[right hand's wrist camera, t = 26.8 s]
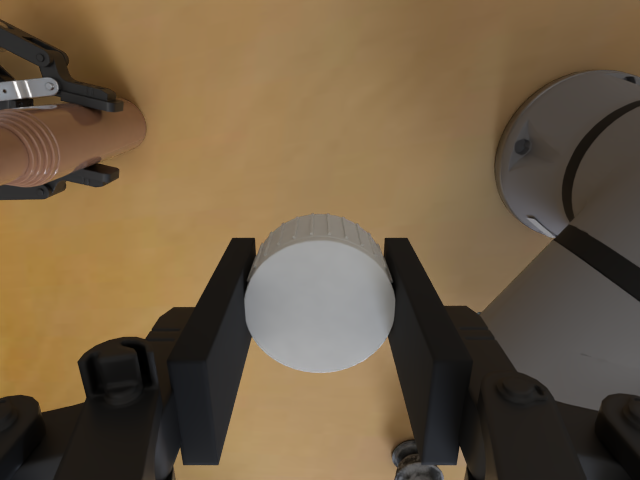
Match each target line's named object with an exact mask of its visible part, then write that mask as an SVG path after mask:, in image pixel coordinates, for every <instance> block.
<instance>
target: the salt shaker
mask: <svg viewBox="0 0 640 480" xmlns="http://www.w3.org/2000/svg"><path fill="white" fill-rule="evenodd" d="M392 460H393V462H394V464H395V466H396V467H397V471H396V476H395V479H394V480H444V476H443V474H442V471H441V470H440V469H439V468H438V467H437V465H421V462H420V458H419V454H418V450H417V446H416V442H415V440H411V441H407V442H404V443H402V444H400V445H399V446H397V447H396V448H395V450H394V451H393V455H392Z"/></svg>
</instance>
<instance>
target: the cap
mask: <svg viewBox="0 0 640 480" xmlns="http://www.w3.org/2000/svg"><path fill="white" fill-rule="evenodd" d="M247 282H248V285H247V288H246V292H245V296H244V303H245V316H246V324H247V327H248V330H249V331H250V333H251V335H252V337H253V339H254V340H255V342H256V343H257V344H258V346H259V347H260V348H261V349H262V350H263V351H264V352H265V353H266V354H268V355H269V356H270V357H271V358H273V359H274V360H276V361H277V362H279V363H281V364H283V365H285V366H288V367H291V368H293V369H297V370H301V371H306V372H315V373H325V372H334V371H339V370H343V369H346V368H349V367H352V366H354V365H356V364H358V363H360V362H362V361H364V360H365V359H367V358H368V357H369V356H371V355H372V354H373V353H374V352H375V351H376V350H377V349H378V348H379V347H380V346H381V345H382V344H383V342H384V341H385V340H386V338H387V336H388V335H389V333H390V330H391V328H392V326H393V322H394V313H395V294H394V290H393V287H392V284H391V283H393V280H392V277H391V274H390V271H389V269H388V266H387V263H386V260H385V257H384V256H383V255H382V252H381V249H380V246H379V244H376V243H375V241H374V240H373V238H372V237H371V234H370V233H369V232H368V233H367V232H366V231H365V230H364V229H362V228H361V227H360V226H359V224H357V223H356V224H355V223H353V222H352V221H349V220H347V219H345V217H338V216H334V215H330V214H314V213H313V214H311V215H306V216H301V217H296V218H295V219H292V220H290V221H288V222H286V223H282V225H281V226H280V227H278V228H277V229H276V230H275V231H274V232H271V233H270V235H269V237H268V238H267V239H266V240H265V242H264V243H262V244H261V246H260V249H259V251H258V254H257V256H255V259H254V262H253V265H252V267H251V270H250V273H249V276H248V278H247Z"/></svg>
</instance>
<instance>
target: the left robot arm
mask: <svg viewBox="0 0 640 480" xmlns="http://www.w3.org/2000/svg"><path fill="white" fill-rule="evenodd" d="M7 50H8V51H10V52H12V53H14V54H16V55H18V56H20V57H22V58H24V59H26V60H28V61H30V62H32V63H34V64H36V65H38V66H39V68H40V71H41V74H42V77H43V78H37V79H29V80H17V81H16V80H15V79H14V78H13V77H12V76H11V75H10V74H9V73H8V72H7V71H6V70H5V69H4V68H3V67H2V66H1V65H0V110H3V109H10V108H20V107H29V106H33V99H32V98H40V97H49V96H58V97H61V101H64V102H69V103H73V104H77V105H81V106H86V107H90V108H94V109H98V110H102V111H107V112H120V111H123V106H124V101H121V100H117V99H116V93H115V92H113V91H112V90H110V89H107V88H103V87H99V86H95V85H91V84H87V83H83V82H78V81H76V80H74V79H73V78H72V77H71V76H70V74H69V72H68V69H67V65H68V63H69V59H68V56H67V55H66V53H64V52H63V51H61V50H59V49H57V48H55V47H53V46H51V45H49V44H47V43H45V42H44V41H42V40H40V39H38V38H36V37H34V36H32V35H30V34H28V33H26V32H24V31H22V30H20V29H18V28H16V27H14V26H13V25H11V24H9V23H7V22H5V21H3V20H1V19H0V52H5V51H7ZM118 178H119V169H118V168H115V167H111V166H106V165H102V164H97V163H96V164H94V165H91V166H89V167H86V168H84V169H81V170H79V171H76V172H73V173H71V174H68V175H66V176H63V177H61V178H58V179H56V180H53V181H50V182H48V183H45V184H43V185H40V186H33V187H19V186H11V185H1V186H0V200H26V199H46V198H48V197H50V196H53V195H55V194H57V193H59V192H62V191H64V190H65V189H66V183H65V182H66V181H70V182H75V183H79V184H84V185H89V186H93V187H101V186H104V185H106V184H108V183H110V182H112V181H114V180H116V179H118Z"/></svg>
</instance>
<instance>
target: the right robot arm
mask: <svg viewBox="0 0 640 480" xmlns="http://www.w3.org/2000/svg"><path fill="white" fill-rule="evenodd" d="M495 179H496V185H497V189H498V192H499V195H500V197H501V199H502V201H503V203H504V205H505V206H506V208H507V209H508V210H509V212H510V213H511V214H512V215H513V216H514V217H515V218H517V219H518V220H519V221H520V222H522V223H523V224H525V225H526V226H528V227H529V228H531V229H532V230H534V231H536V232H539V233H541V234H544V235H546V236H548V237H553V238H555V239H553V240H552V241H551V242H550V243H549V244H548V246H547V247H546V248H545V249H544V250H543V251H542V252H541V253H540V254H539V255H538V256H537V257H536V258H535V259H534V260H533V261H532V262H531V263H530V264H529V265H528V266H527V267H526V268H525V269H524V270H523V271H522V272H521V273H520V274H519V275H518V276H517V277H516V278H515V279H514V280H513V281H512V282H511V283H510V284H509V285H508V286H507V287H506V288H505V289H504V290H503V291H502V292H501V293H500V294H499V295H498V296H497V297H496V298H495V299H494V300H493V301H492V302H491V303H490V304H489V306H488V307H487V308H486V309H485V310H484V311H483V312H478V313H475V312H474V311H473V310H471V309H470V308H468V307H467V306H444V305H443V304H442V302H441V300H440V298H439V296H438V294H437V292H436V290H435V289H434V287H433V285H432V283H431V281H430V279H429V277H428V276H427V274H426V272H425V270H424V268H423V266H422V264H421V263H420V261H419V259H418V257H417V255H416V253H415V251H414V250H413V248H412V246H411V244H410V242H409V240H408V238H385V244H384V257H385V260H386V263H387V266H388V269H389V271H390V274H391V277H392V280H393V283H391V284H392V287H393V290H394V294H395V313H394V322H393V326H392V328H391V330H390V333H389V335H388V339H389V342H390V346H391V350H392V354H393V358H394V362H395V365H396V369H397V373H398V377H399V381H400V385H401V389H402V392H403V396H404V400H405V404H406V408H407V412H408V415H409V419H410V423H411V427H412V431H413V435H414V439H415V442H416V446H417V450H418V454H419V458H420V462H421V465H457V459H458V452H459V446H460V447H461V450H462V453H463V455H464V458H465V461H466V463H467V467H466V473H465V479H464V480H640V77H638V76H635V75H632V74H628V73H624V72H619V71H612V70H593V71H583V72H577V73H573V74H570V75H567V76H564V77H561V78H559V79H557V80H555V81H553V82H551V83H549V84H547V85H546V86H544V87H543V88H541V89H540V90H538V91H537V92H536V93H534V94H533V95H532V96H531V97H530V98H529V99H527V100H526V101H525V102H524V103H523V104H522V106H521V107H520V108H519V109H518V110H517V111H516V113H515V114H514V115H513V117H512V118H511V120H510V121H509V123H508V125H507V127H506V128H505V130H504V132H503V135H502V137H501V140H500V143H499V146H498V149H497V154H496V160H495ZM255 256H256V249H255V238H232V240H231V242H230V243H229V245H228V247H227V249H226V251H225V253H224V255H223V256H222V258H221V260H220V262H219V264H218V266H217V268H216V269H215V271H214V273H213V275H212V277H211V279H210V281H209V283H208V284H207V286H206V288H205V290H204V292H203V294H202V296H201V297H200V299H199V301H198V303H197V305H196V307H173V308H172V309H171V310H169V311H168V312H166V313H165V314H164V315H162V316H161V317H159V319H158V320H157V322H156V323H155V325H154V326H153V328H152V331H150V332H149V334H148V336H147V337H146V339H142V338H138V337H121V338H117V339H112V340H108V341H106V342H103V343H101V344H99V345H96V346H94V347H93V348H91V349H90V350H89V351H87V352H86V353H84V354H83V356H82V357H81V358H80V359H79V361H78V366H79V370H80V374H81V378H82V382H83V386H84V389H85V393H86V397H87V398H86V400H85V402H84V403H80V404H77V405H73V406H69V407H64V408H60V409H56V410H51V411H47V412H42V413H41V410H40V406H39V403H38V402H37V401H36V400H35V399H34V398H33V397H30V396H24V395H16V396H7V397H3V398H0V480H175V473H174V467H173V465H174V462H175V459H176V457H177V454H178V451H179V449H180V448H181V454H182V460H183V465H218V464H219V461H220V457H221V453H222V449H223V445H224V441H225V437H226V434H227V430H228V426H229V422H230V418H231V414H232V411H233V407H234V403H235V399H236V395H237V391H238V388H239V384H240V380H241V376H242V372H243V368H244V364H245V361H246V357H247V353H248V349H249V345H250V341H251V338H252V335H251V333H250V331H249V330H248V327H247V324H246V316H245V303H244V296H245V292H246V288H247V285H248V282H247V278H248V276H249V273H250V270H251V267H252V265H253V262H254V259H255Z"/></svg>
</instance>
